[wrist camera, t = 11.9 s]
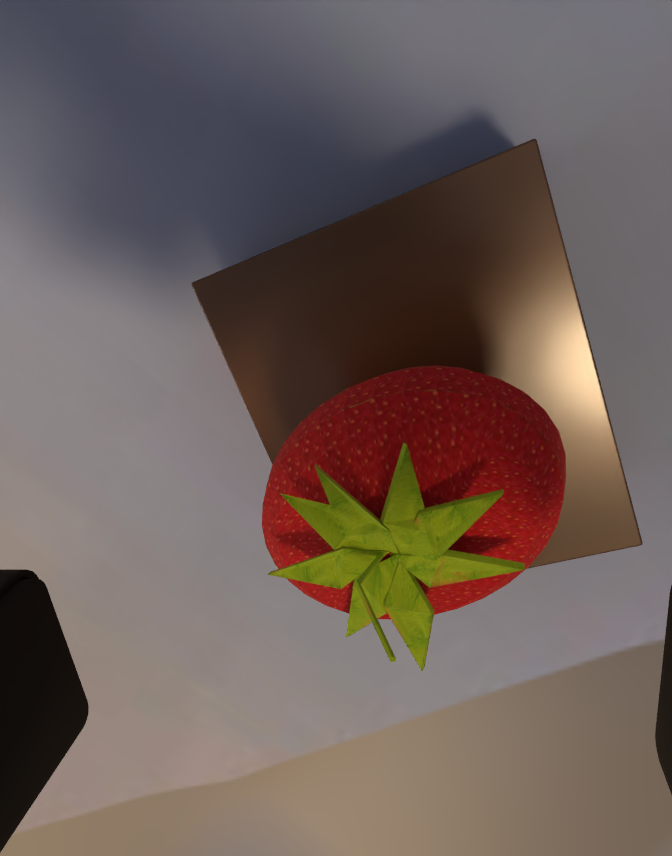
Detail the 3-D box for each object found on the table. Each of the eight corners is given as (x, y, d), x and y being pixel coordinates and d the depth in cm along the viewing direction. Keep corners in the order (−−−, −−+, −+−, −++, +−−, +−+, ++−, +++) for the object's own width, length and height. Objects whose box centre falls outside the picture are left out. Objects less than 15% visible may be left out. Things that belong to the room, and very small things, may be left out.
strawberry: (570, 447, 19) (677, 693, 9) (362, 529, 21) (289, 785, 12) (490, 278, 17) (524, 376, 8) (278, 387, 20) (122, 555, 11)
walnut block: (242, 266, 24) (189, 283, 19) (519, 150, 20) (536, 137, 16) (357, 538, 27) (336, 608, 23) (608, 478, 24) (643, 545, 19)
